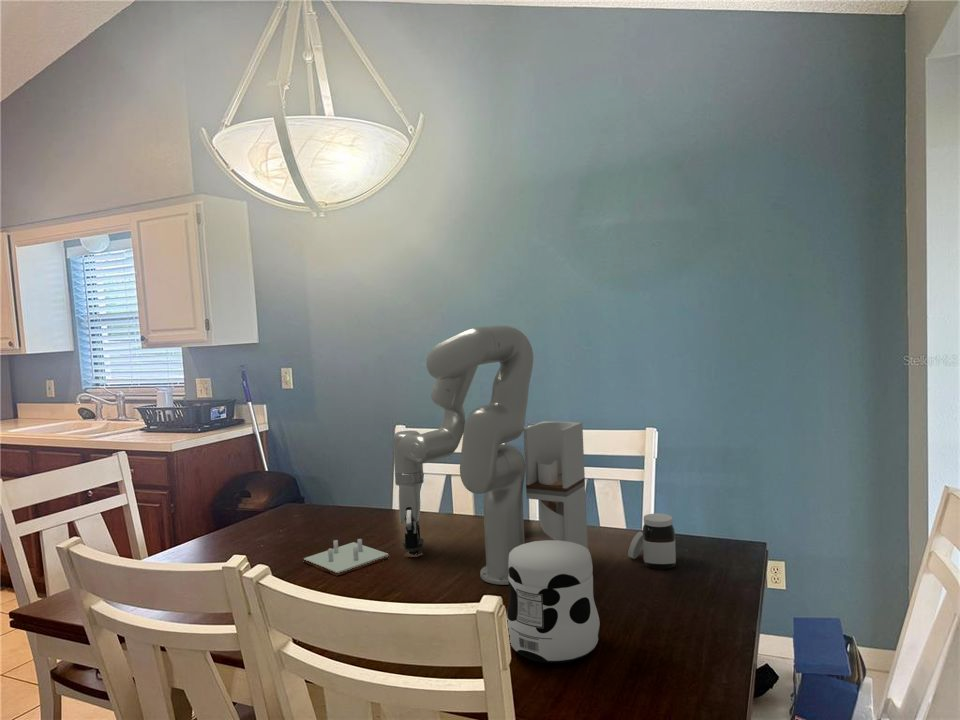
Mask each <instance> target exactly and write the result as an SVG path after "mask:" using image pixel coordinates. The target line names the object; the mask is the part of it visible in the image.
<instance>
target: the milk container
mask: <svg viewBox="0 0 960 720" xmlns="http://www.w3.org/2000/svg"><path fill="white" fill-rule="evenodd" d="M508 565H509V576H508V580H509V585H508V590H509V592H508V593H509V599H508V601H509V602H508V607H507V612H506V616H507V620H508V628H509V635H510V642H509V644H510V643H511V644H510V647H512V649H513V650H514V651H515V653H517V654H519V655H520V656H522V657H524V658H525V659H528V660H530V661H534V662H538V663H544V664H545V663H546V664H562V663H563V664H564V663H572V662H573V661H577V660H579V659H583V658H584V657H586V656H587V655H588V654H590V653H592V652H593V651H594V650H595V648H596V646H597V644H598V641H599V638H600V629H601V628H600V627H601V623H600V617H599V613H598V609H597V607H596V602H595V599H594V576H593V570H594V569H593V568H594V567H593V559H592V555H591V553H590V550H589V548H588V549H587V548H585V547H584V546H582V545H579V544H576V543H573V542H567V541H560V540H552V539H551V540H550V539H549V540H548V539H546V540H538V541H537V540H536V541H530V542H526V543H525V544H522V545H520V546H517V547H515V548H514V549H513V550H512V551H511V552H510V553H509V563H508Z"/></svg>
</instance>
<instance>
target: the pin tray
mask: <svg viewBox="0 0 960 720" xmlns="http://www.w3.org/2000/svg"><path fill="white" fill-rule="evenodd" d="M356 540H357V542H356V541H355V542H354V541H353V542H350V543H347V544H344V545H341V546H339V540H338V539H334V540H333V542H332V543H333V548H331V547H330V548H328V549H327V550H325V551H322V552H318V553H315V554H313V555H310V556H309V555H308V556H306V557H304V558H303V559H304V560H306V561H309V562H311V563H313V564H316V565H319V566H321V567H324V568H326V569H328V570H330V571H333V572H335V573H340V572H343V571H347V570H350V569H352V568H355V567H358V566H361V565H364V564H367V563H370V562H372V561H375V560H378V559H382V558H384V557H388V556H389V557H390V555H389V554H390V553H387V552H384V551H381V550H378V549H375V548H372V547H370V546H366V545H363V539H362V538H357V539H356Z"/></svg>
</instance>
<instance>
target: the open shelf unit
mask: <svg viewBox="0 0 960 720" xmlns="http://www.w3.org/2000/svg"><path fill="white" fill-rule="evenodd" d="M583 428H584V427H583V422H576V421H575V422H573V421H548V420H543V421H540V422H538V423H535V424H532V425H529V426H525V427H524V430H523V432H522V433H523V444H524V445H523V450H524V451H523V452H524V462H525V491H526V493H525V494H526V499H529V500H538V503H539V521H540V522H539V524H540V527H541V529H542V531H543V532H544V534H546V535H547V536H548V537H549V538H550V539H551V540H560V541H567V542H573V543H576V544H579V545H582V546H584V547H585V548H587V549H588V550H589V545H588V525H587V523H588V522H587V520H588V519H587V502H586V501H587V499H586V496H587V495H586V477H585V474H586V473H585V452H584V432H583Z"/></svg>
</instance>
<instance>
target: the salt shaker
mask: <svg viewBox="0 0 960 720" xmlns="http://www.w3.org/2000/svg"><path fill="white" fill-rule="evenodd" d="M412 521H414V519H412ZM412 525H413V528H414V524H412ZM417 525H418V524H417V522H416V533H417V538H418V548H413V549H406V545H405V539H404V540H402V542H401V544H402V545H403V548H404V551H405V550H406V552H407V551H409V553H410V554H413V555H415V554H416V553H417V554H416V555H418V554H421V553H422V552H423V551H422V550H421V549H422V548H423V545H424V542H425V540H424V539H423V538H421V537H420V538H419V535H418V528H419V527H420V525H419V526H417Z"/></svg>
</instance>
